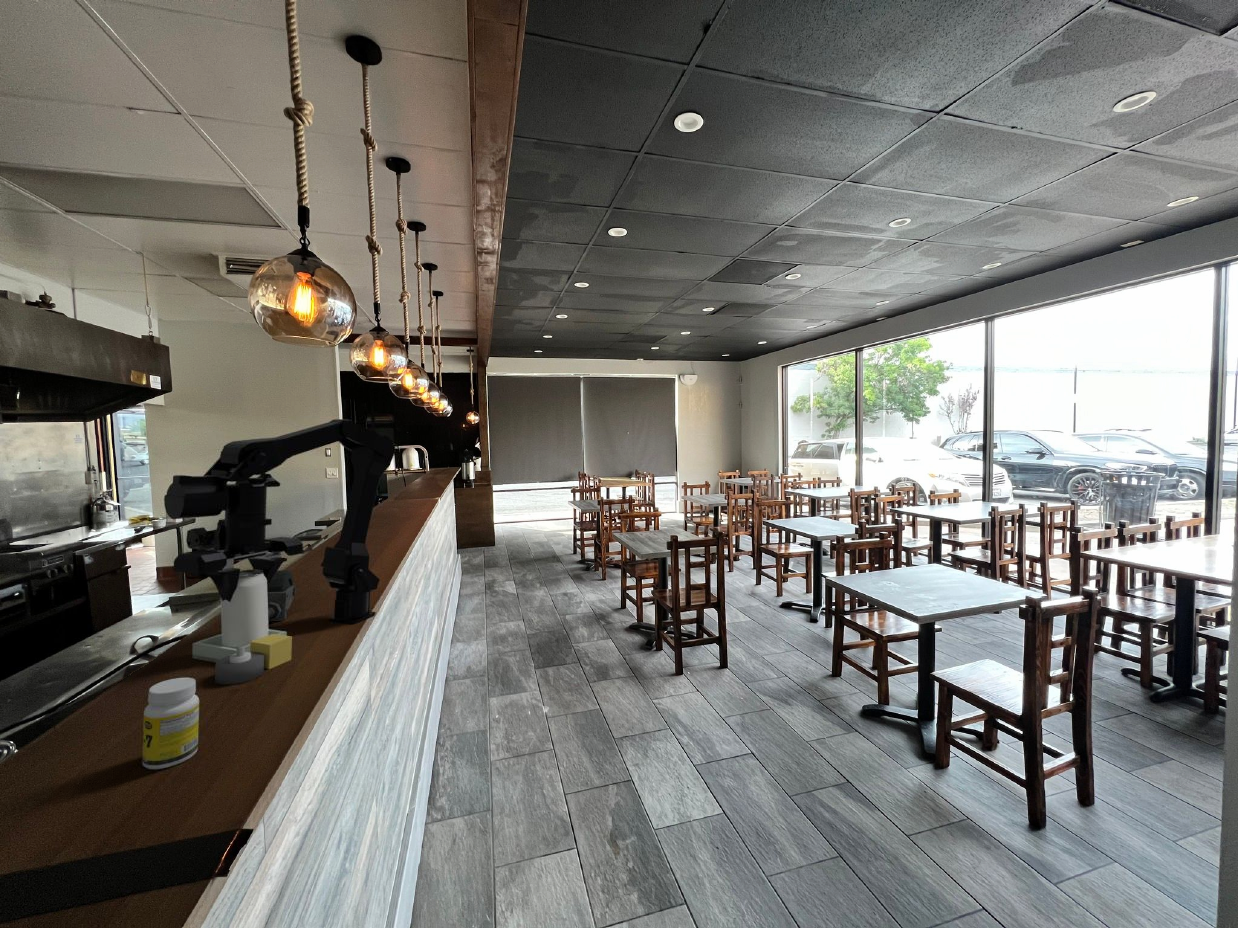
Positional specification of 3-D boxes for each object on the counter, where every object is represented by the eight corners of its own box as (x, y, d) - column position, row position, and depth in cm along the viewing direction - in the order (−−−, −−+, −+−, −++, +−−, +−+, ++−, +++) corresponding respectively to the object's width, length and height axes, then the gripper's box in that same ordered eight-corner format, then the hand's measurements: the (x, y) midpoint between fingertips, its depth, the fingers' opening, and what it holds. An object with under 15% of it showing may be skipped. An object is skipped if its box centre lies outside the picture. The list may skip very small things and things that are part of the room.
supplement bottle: (141, 755, 56) (144, 683, 56) (195, 740, 60) (198, 671, 60) (142, 776, 53) (144, 698, 53) (199, 759, 56) (202, 685, 56)
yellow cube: (272, 656, 84) (273, 633, 84) (291, 659, 83) (292, 636, 83) (249, 666, 81) (250, 641, 81) (269, 669, 80) (270, 644, 80)
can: (244, 650, 82) (242, 579, 82) (212, 647, 84) (209, 577, 83) (277, 635, 89) (276, 569, 88) (247, 632, 90) (245, 567, 89)
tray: (245, 639, 91) (246, 625, 91) (286, 645, 89) (286, 631, 89) (192, 658, 82) (192, 643, 82) (235, 665, 80) (236, 650, 80)
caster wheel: (269, 612, 109) (246, 628, 95) (272, 568, 110) (249, 577, 96) (299, 610, 111) (280, 626, 97) (301, 567, 112) (283, 576, 98)
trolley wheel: (243, 665, 80) (244, 638, 80) (272, 670, 79) (273, 643, 79) (204, 680, 75) (205, 652, 75) (235, 686, 73) (236, 657, 73)
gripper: (259, 505, 96) (257, 585, 97) (148, 516, 78) (146, 613, 79) (306, 509, 94) (304, 591, 94) (202, 521, 76) (199, 622, 76)
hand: (243, 603), depth 86 cm, fingers closed on can, 5 cm apart
